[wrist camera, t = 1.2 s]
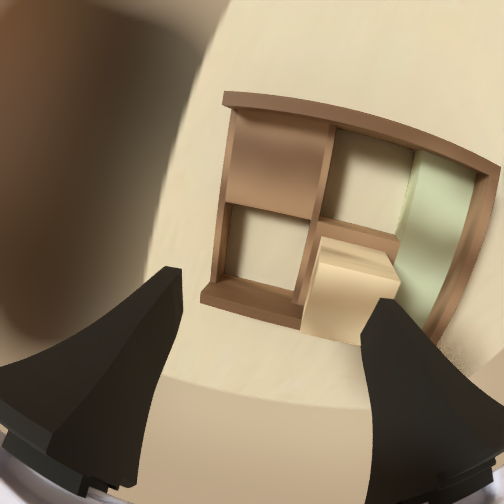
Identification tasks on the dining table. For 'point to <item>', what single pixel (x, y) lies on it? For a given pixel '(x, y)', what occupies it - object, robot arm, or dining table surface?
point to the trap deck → (309, 205)
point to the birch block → (346, 290)
